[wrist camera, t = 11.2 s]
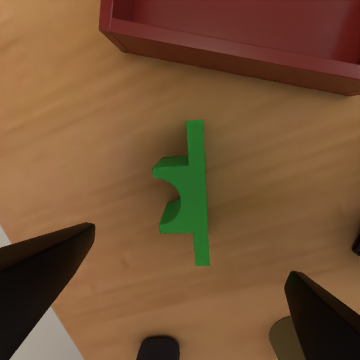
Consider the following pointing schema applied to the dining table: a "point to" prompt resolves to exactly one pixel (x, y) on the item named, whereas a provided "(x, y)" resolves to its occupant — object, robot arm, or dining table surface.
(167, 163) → the pipe clamp
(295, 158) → the dining table surface
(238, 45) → the open red box
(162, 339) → the two-way radio
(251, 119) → the dining table surface
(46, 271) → the robot arm
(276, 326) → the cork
